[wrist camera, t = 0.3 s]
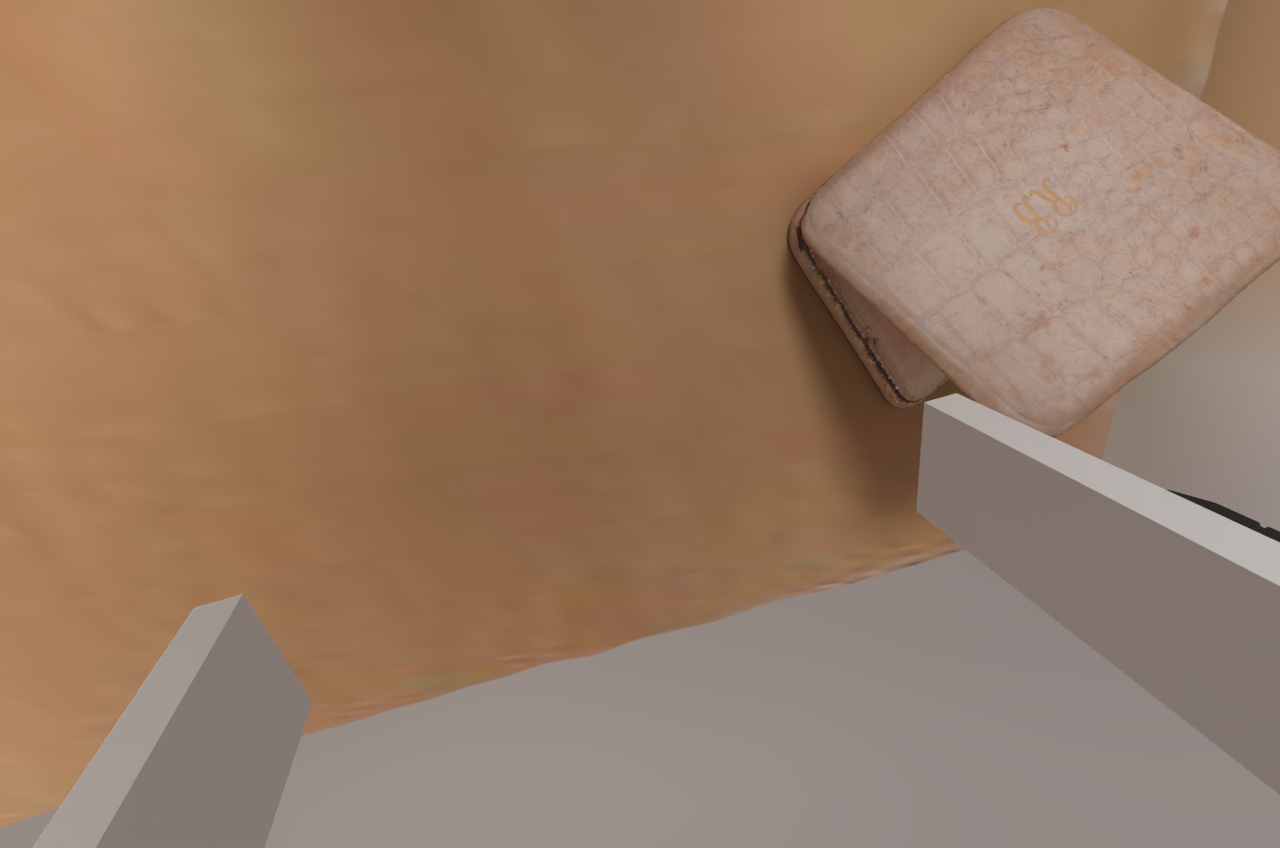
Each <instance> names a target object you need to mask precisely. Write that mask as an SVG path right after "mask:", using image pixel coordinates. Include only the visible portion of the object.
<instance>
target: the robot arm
mask: <svg viewBox="0 0 1280 848" xmlns="http://www.w3.org/2000/svg"><path fill="white" fill-rule="evenodd" d="M916 511H917V512H918V513H919V514H920V515H922V516H923V517H924V518H926V519H927V520H928V521H929V522H931V523H932V524H933V525H934V526H936V527H937V528H938V529H940V530H941V531H942V532H943V533H945V534H946V535H947V536H949V537H950V538H951V539H952V540H954V541H955V542H956V543H958V544H959V545H960V546H961V547H963V548H964V549H965V550H967V551H968V552H969V553H970V554H972V555H973V556H974V557H976V558H977V559H978V560H979V561H981V562H982V563H983V564H984V565H986V566H987V567H988V568H990V569H991V570H992V571H994V572H995V573H996V574H997V575H999V576H1000V577H1001V578H1003V579H1004V580H1005V581H1006V582H1008V583H1009V584H1010V585H1011V586H1013V587H1014V588H1015V589H1017V590H1018V591H1019V592H1021V593H1022V594H1023V595H1024V596H1026V597H1027V598H1028V599H1029V600H1031V601H1032V602H1033V603H1034V604H1036V605H1037V606H1039V607H1040V608H1041V609H1042V610H1044V611H1045V612H1046V613H1047V614H1049V615H1050V616H1051V617H1052V618H1054V619H1055V620H1056V621H1058V622H1059V623H1060V624H1061V625H1063V626H1064V627H1065V628H1067V629H1068V630H1069V631H1070V632H1072V633H1073V634H1074V635H1076V636H1077V637H1078V638H1079V639H1081V640H1082V641H1083V642H1085V643H1086V644H1087V645H1088V646H1090V647H1091V648H1092V649H1094V650H1095V651H1096V652H1097V653H1099V654H1100V655H1101V656H1103V657H1104V658H1105V659H1106V660H1108V661H1109V662H1110V663H1111V664H1113V665H1114V666H1115V667H1117V668H1118V669H1119V670H1120V671H1122V672H1123V673H1124V674H1126V675H1127V676H1128V677H1130V678H1131V679H1132V680H1133V681H1134V682H1136V683H1137V684H1138V685H1140V686H1141V687H1142V688H1143V689H1145V690H1146V691H1147V692H1149V693H1150V694H1151V695H1152V696H1154V697H1155V698H1156V699H1158V700H1159V701H1160V702H1161V703H1163V704H1164V705H1165V706H1167V707H1168V708H1169V709H1170V710H1172V711H1173V712H1174V713H1176V714H1177V715H1179V717H1181V718H1182V719H1183V720H1184V721H1186V722H1187V723H1188V724H1190V725H1191V726H1192V727H1193V728H1195V729H1196V730H1197V731H1199V732H1200V733H1201V734H1203V735H1204V736H1205V737H1206V738H1208V739H1209V740H1210V741H1211V742H1213V743H1214V744H1215V745H1217V746H1218V747H1219V748H1220V749H1222V750H1223V751H1224V752H1226V753H1227V754H1228V755H1229V756H1231V757H1232V758H1233V759H1235V760H1236V761H1237V762H1238V763H1240V764H1241V765H1242V766H1243V767H1245V768H1246V769H1247V770H1249V771H1250V772H1251V773H1252V774H1254V775H1255V776H1256V777H1258V778H1259V779H1260V780H1261V781H1263V782H1264V783H1265V784H1267V785H1268V786H1269V787H1270V788H1272V789H1273V790H1274V791H1276V792H1277V793H1278V794H1280V532H1279V531H1277V530H1274V529H1272V528H1270V527H1267V528H1263V527H1261V526H1260V523H1259V522H1257V521H1254V520H1252V519H1250V518H1248V517H1245V516H1243V515H1241V514H1239V513H1237V512H1234V511H1232V510H1230V509H1228V508H1225V507H1223V506H1221V505H1219V504H1217V503H1214V502H1210V501H1206V500H1203V499H1199V498H1196V497H1192V496H1189V495H1185V494H1181V493H1178V492H1174V491H1170V490H1165V489H1163V488H1161V487H1158V486H1156V485H1154V484H1152V483H1150V482H1148V481H1145V480H1143V479H1141V478H1139V477H1137V476H1135V475H1132V474H1130V473H1128V472H1126V471H1124V470H1122V469H1119V468H1117V467H1115V466H1113V465H1111V464H1109V463H1106V462H1104V461H1102V460H1100V459H1098V458H1096V457H1094V456H1091V455H1089V454H1087V453H1085V452H1083V451H1081V450H1078V449H1076V448H1074V447H1072V446H1070V445H1068V444H1065V443H1063V442H1061V441H1059V440H1057V439H1055V438H1052V437H1050V436H1048V435H1046V434H1044V433H1042V432H1040V431H1037V430H1035V429H1033V428H1031V427H1029V426H1027V425H1024V424H1022V423H1020V422H1018V421H1016V420H1014V419H1011V418H1009V417H1007V416H1005V415H1003V414H1001V413H998V412H996V411H994V410H992V409H990V408H988V407H985V406H983V405H981V404H979V403H977V402H975V401H972V400H970V399H968V398H966V397H964V396H962V395H959V394H957V393H955V394H952V395H948V396H945V397H941V398H938V399H934V400H930V401H927V402H924V412H923V426H922V439H921V452H920V466H919V479H918V493H917V506H916ZM311 704H312V700H311V699H310V697H309V695H308V694H307V692H306V691H305V689H304V688H303V686H302V685H301V683H300V681H299V680H298V678H297V677H296V675H295V674H294V672H293V671H292V669H291V668H290V666H289V664H288V663H287V661H286V660H285V658H284V657H283V655H282V654H281V652H280V651H279V649H278V647H277V646H276V644H275V643H274V641H273V640H272V638H271V637H270V635H269V633H268V632H267V630H266V629H265V627H264V626H263V624H262V623H261V621H260V620H259V618H258V616H257V615H256V613H255V612H254V610H253V609H252V607H251V606H250V604H249V603H248V601H247V599H246V598H245V596H244V595H243V594H241V595H237V596H234V597H230V598H227V599H223V600H219V601H216V602H212V603H209V604H205V605H202V606H198V607H195V608H193V610H192V611H191V613H190V614H189V616H188V617H187V619H186V620H185V622H184V623H183V625H182V626H181V628H180V629H179V631H178V632H177V634H176V635H175V636H174V638H173V639H172V641H171V642H170V644H169V645H168V647H167V648H166V650H165V651H164V653H163V654H162V656H161V657H160V659H159V660H158V662H157V663H156V665H155V666H154V668H153V669H152V671H151V672H150V674H149V675H148V676H147V678H146V679H145V681H144V682H143V684H142V685H141V687H140V688H139V690H138V691H137V693H136V694H135V696H134V697H133V699H132V700H131V702H130V703H129V705H128V706H127V708H126V709H125V711H124V712H123V714H122V715H121V717H120V718H119V719H118V721H117V722H116V724H115V725H114V727H113V728H112V730H111V731H110V733H109V734H108V736H107V737H106V739H105V740H104V742H103V743H102V745H101V746H100V748H99V749H98V751H97V752H96V754H95V755H94V757H93V758H92V760H91V761H90V762H89V764H88V765H87V767H86V768H85V770H84V771H83V773H82V774H81V776H80V777H79V779H78V780H77V782H76V783H75V785H74V786H73V788H72V789H71V791H70V792H69V794H68V795H67V797H66V798H65V800H64V801H63V802H62V804H61V805H60V807H59V808H58V810H57V811H56V813H55V814H54V816H53V817H52V819H51V820H50V822H49V823H48V825H47V826H46V828H45V829H44V831H43V832H42V834H41V835H40V837H39V838H38V840H37V841H36V843H35V844H34V845H33V847H32V848H264V847H265V844H266V841H267V837H268V835H269V832H270V829H271V826H272V823H273V819H274V817H275V813H276V811H277V808H278V804H279V801H280V798H281V795H282V792H283V789H284V786H285V783H286V780H287V777H288V774H289V771H290V768H291V765H292V762H293V759H294V756H295V753H296V750H297V747H298V744H299V741H300V738H301V735H302V732H303V729H304V725H305V722H306V719H307V716H308V713H309V710H310V707H311Z"/></svg>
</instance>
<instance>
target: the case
mask: <svg viewBox="0 0 1280 848" xmlns="http://www.w3.org/2000/svg"><path fill="white" fill-rule="evenodd" d="M789 245H790V248H791V250H792V253H793V255H794V257H795V258H796V260H797V262H798V264H799V266H800V267H801V269H802V270H803V272H804V273H805V275H806V276H807V278H808V279H809V281H810V282H811V284H812V286H813V287H814V289H815V290H816V292H817V293H818V294H819V296H820V297H821V299H822V300H823V302H824V303H825V305H826V307H827V309H828V310H829V311H830V313H831V314H832V316H833V318H834V319H835V320H836V321H837V323H838V325H839V326H840V328H841V329H842V331H843V332H844V334H845V335H846V337H847V339H848V340H849V342H850V343H851V345H852V347H853V348H854V350H855V351H856V352H857V354H858V356H859V357H860V359H861V360H862V362H863V364H864V365H865V367H866V369H867V370H868V372H869V374H870V375H871V377H872V378H873V380H874V381H875V383H876V384H877V386H878V388H879V389H880V391H881V393H882V394H883V396H884V398H885V399H886V400H887V401H888V402H889V403H890V404H891V405H893V406H895V407H899V408H908V407H912V406H915V405H917V404H919V403H920V402H922V401H923V400H924V399H926V398H927V397H928V396H929V395H931V394H932V393H933V392H934V391H935V390H936V389H938V388H939V387H940V386H941V385H942V384H943V383H945V382H946V381H947V380H948V379H950V380H951V381H952V382H953V383H954V384H955V385H956V386H957V387H958V388H959V389H960V390H961V391H962V392H963V393H964V394H965V395H966V396H967V397H968V398H969V399H971V400H972V401H975V402H977V403H979V404H981V405H983V406H985V407H988V408H990V409H992V410H994V411H996V412H998V413H1001V414H1003V415H1005V416H1007V417H1009V418H1011V419H1014V420H1016V421H1018V422H1020V423H1022V424H1024V425H1027V426H1029V427H1031V428H1033V429H1035V430H1037V431H1040V432H1042V433H1044V434H1046V435H1048V436H1050V437H1052V438H1053V437H1056V436H1059V435H1061V434H1063V433H1065V432H1067V431H1068V430H1069V429H1071V428H1072V427H1074V426H1075V425H1077V424H1078V423H1079V422H1081V421H1082V420H1083V419H1085V418H1086V417H1087V416H1089V415H1090V414H1091V413H1092V412H1093V411H1095V410H1096V409H1097V408H1098V407H1099V406H1101V405H1102V404H1103V403H1104V402H1106V401H1107V400H1108V399H1109V398H1110V397H1111V396H1112V395H1114V394H1115V393H1116V392H1118V391H1119V390H1120V389H1121V388H1123V387H1124V386H1125V385H1126V384H1128V383H1129V382H1130V381H1132V380H1133V379H1135V378H1136V377H1138V376H1139V375H1140V374H1142V373H1143V372H1145V371H1146V370H1147V369H1149V368H1150V367H1152V366H1153V365H1155V364H1156V363H1157V362H1159V361H1160V360H1161V359H1163V358H1164V357H1165V356H1166V355H1168V354H1169V353H1170V352H1171V351H1172V350H1174V349H1175V348H1177V347H1178V346H1179V345H1180V344H1182V343H1183V342H1184V341H1185V340H1186V339H1188V338H1189V337H1190V336H1191V335H1193V334H1194V333H1195V332H1196V331H1198V330H1199V329H1200V328H1201V327H1202V326H1204V325H1205V324H1206V323H1207V322H1209V321H1210V320H1211V319H1212V318H1213V317H1214V316H1215V315H1217V314H1218V313H1219V312H1220V311H1221V309H1223V308H1224V307H1225V306H1226V305H1227V304H1228V303H1229V302H1230V301H1231V300H1232V299H1233V298H1234V297H1236V295H1238V294H1239V293H1240V292H1241V291H1242V290H1244V289H1245V288H1246V287H1247V286H1248V285H1249V284H1250V283H1252V282H1253V281H1254V280H1255V279H1257V278H1258V277H1259V276H1260V275H1261V274H1262V273H1264V272H1265V271H1267V270H1268V269H1269V268H1270V267H1271V266H1273V265H1274V264H1275V263H1276V262H1277V261H1279V260H1280V152H1279V151H1277V150H1276V149H1274V148H1273V147H1271V146H1270V145H1268V144H1267V143H1265V142H1263V141H1262V140H1261V139H1259V138H1257V137H1256V136H1254V135H1252V134H1251V133H1249V132H1248V131H1246V130H1244V129H1243V128H1242V127H1240V126H1239V125H1237V124H1236V123H1235V122H1233V121H1232V120H1230V119H1228V118H1227V117H1225V116H1224V115H1223V114H1221V113H1219V112H1218V111H1217V110H1215V109H1213V108H1212V107H1210V106H1209V105H1207V104H1206V103H1204V102H1202V101H1201V100H1199V99H1198V98H1196V97H1195V96H1193V95H1192V94H1190V93H1188V92H1187V91H1186V90H1184V89H1183V88H1181V87H1180V86H1178V85H1177V84H1175V83H1173V82H1171V81H1170V80H1168V79H1167V78H1166V77H1164V76H1163V75H1161V74H1160V73H1158V72H1156V71H1155V70H1153V69H1151V68H1150V67H1148V66H1147V65H1146V64H1144V63H1143V62H1141V61H1140V60H1138V59H1137V58H1135V57H1133V56H1132V55H1130V54H1129V53H1127V52H1126V51H1124V50H1123V49H1122V48H1120V47H1118V46H1116V45H1115V44H1114V43H1112V42H1111V41H1110V40H1108V39H1106V38H1105V37H1103V36H1102V35H1100V34H1099V33H1098V32H1096V31H1095V30H1093V29H1092V28H1090V27H1089V26H1087V25H1085V24H1084V23H1082V22H1081V21H1079V20H1078V19H1076V18H1075V17H1073V16H1072V15H1070V14H1068V13H1066V12H1064V11H1061V10H1058V9H1053V8H1033V9H1029V10H1026V11H1023V12H1021V13H1018V14H1016V15H1014V16H1012V17H1010V18H1009V19H1007V20H1006V21H1004V22H1003V23H1002V24H1001V25H999V26H998V27H997V28H996V29H995V30H994V31H992V32H991V33H990V34H989V35H988V36H987V37H986V38H985V39H983V40H982V41H981V42H980V43H979V44H977V45H976V46H975V47H974V48H973V49H972V50H971V51H970V52H969V53H968V54H967V55H966V56H964V57H963V58H962V59H961V60H960V61H959V62H958V63H957V64H956V65H955V66H954V67H953V68H952V69H950V70H949V71H948V72H947V73H946V74H945V75H944V76H943V77H942V78H941V79H940V80H939V81H938V82H936V83H935V84H934V85H933V86H932V87H931V88H930V89H929V90H928V91H926V92H925V93H924V94H923V95H922V96H921V97H920V98H919V99H918V100H917V101H915V102H914V103H913V104H912V105H911V106H910V107H909V108H908V109H907V110H906V111H905V112H904V113H902V114H901V115H900V116H899V117H898V118H897V119H896V120H895V121H893V122H892V123H891V124H890V125H889V126H888V127H887V128H886V129H885V130H883V131H882V132H881V133H880V134H879V135H878V136H877V137H876V138H875V139H874V140H872V141H871V142H870V143H869V144H868V145H867V146H866V147H864V148H863V149H862V150H861V151H860V152H859V153H858V154H857V155H856V156H854V157H853V158H852V159H851V160H850V161H849V162H848V163H847V164H845V165H844V166H843V167H842V168H841V169H840V170H839V171H838V172H837V173H836V174H835V175H834V176H832V177H831V178H830V179H829V180H828V181H826V182H825V183H824V184H823V185H822V186H821V187H820V188H819V189H818V190H817V191H815V192H814V193H813V194H812V195H811V196H810V197H809V198H808V199H807V200H806V201H805V202H804V203H803V204H802V205H801V206H800V207H799V208H798V209H797V211H796V212H795V214H794V216H793V218H792V220H791V223H790V227H789Z"/></svg>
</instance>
